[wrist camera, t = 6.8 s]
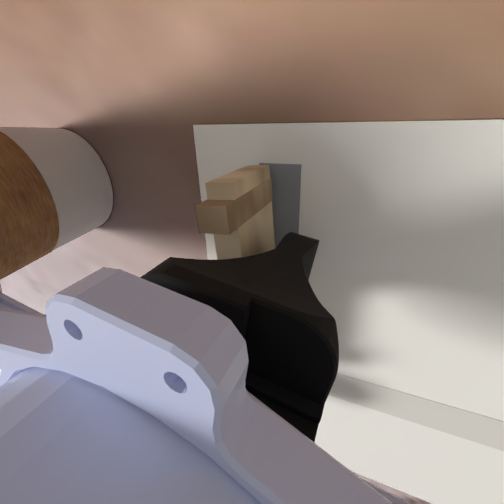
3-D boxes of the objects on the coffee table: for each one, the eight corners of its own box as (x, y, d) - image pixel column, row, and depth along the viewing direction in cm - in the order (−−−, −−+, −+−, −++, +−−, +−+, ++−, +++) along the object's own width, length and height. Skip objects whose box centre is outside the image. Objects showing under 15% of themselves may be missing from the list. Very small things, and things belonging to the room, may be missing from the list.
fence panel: (283, 354, 16) (255, 420, 12) (264, 350, 16) (232, 412, 13) (270, 164, 12) (223, 188, 8) (245, 165, 12) (191, 188, 9)
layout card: (488, 520, 16) (489, 527, 16) (227, 416, 22) (225, 420, 21) (754, 115, 7) (769, 114, 7) (196, 124, 13) (192, 125, 13)
